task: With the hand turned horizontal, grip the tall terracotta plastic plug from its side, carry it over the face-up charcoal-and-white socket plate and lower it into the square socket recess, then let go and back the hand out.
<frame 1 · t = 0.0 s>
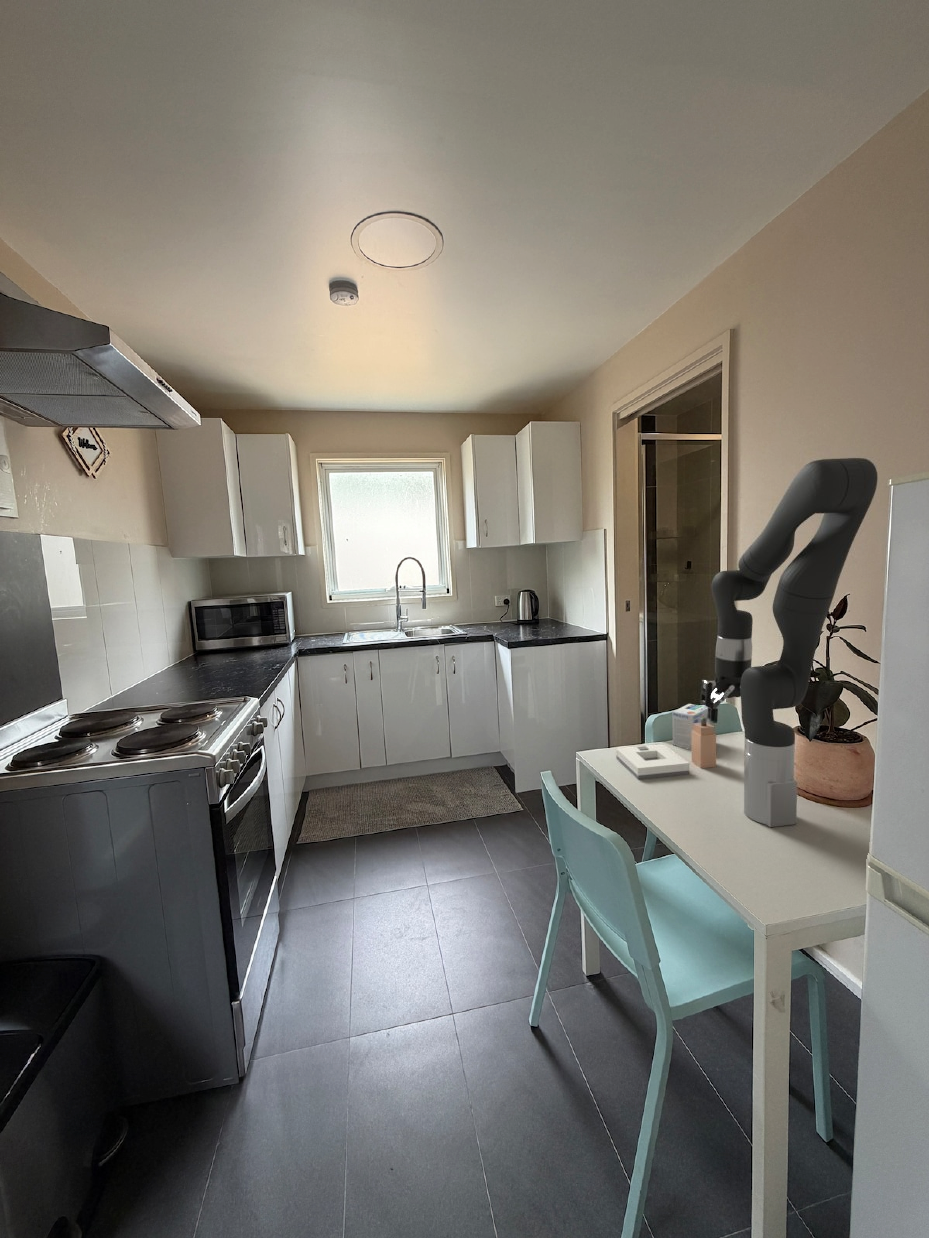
hand: (730, 720, 122), 17 cm above the table, tool pointing down, fingers open, 8 cm apart
plug: (703, 764, 138), on the table
light bulb box: (691, 743, 154), on the table
socket plate: (651, 765, 139), on the table
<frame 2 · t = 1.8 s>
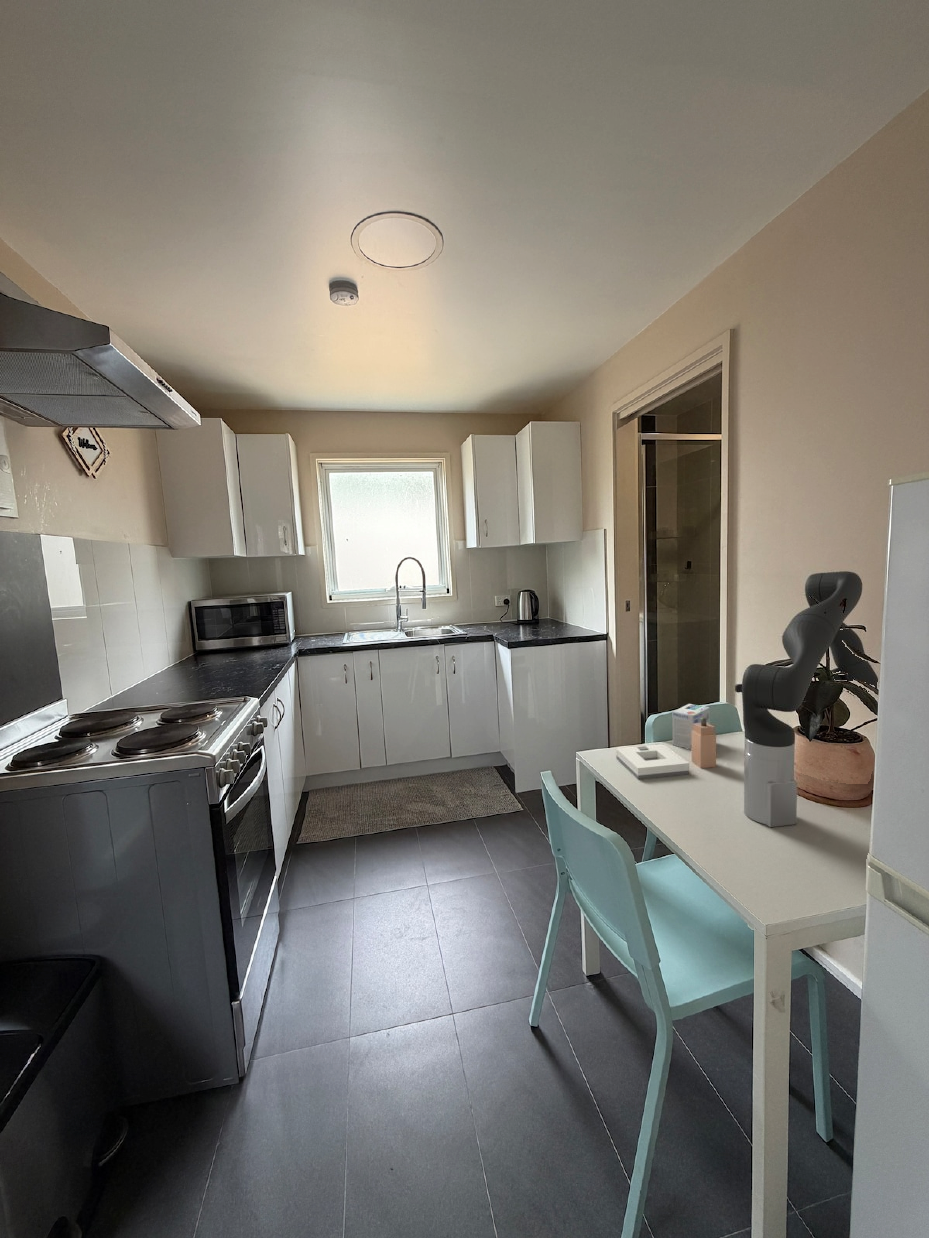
hand: (745, 692, 137), 19 cm above the table, tool horizontal, fingers open, 8 cm apart
nothing on the table moved.
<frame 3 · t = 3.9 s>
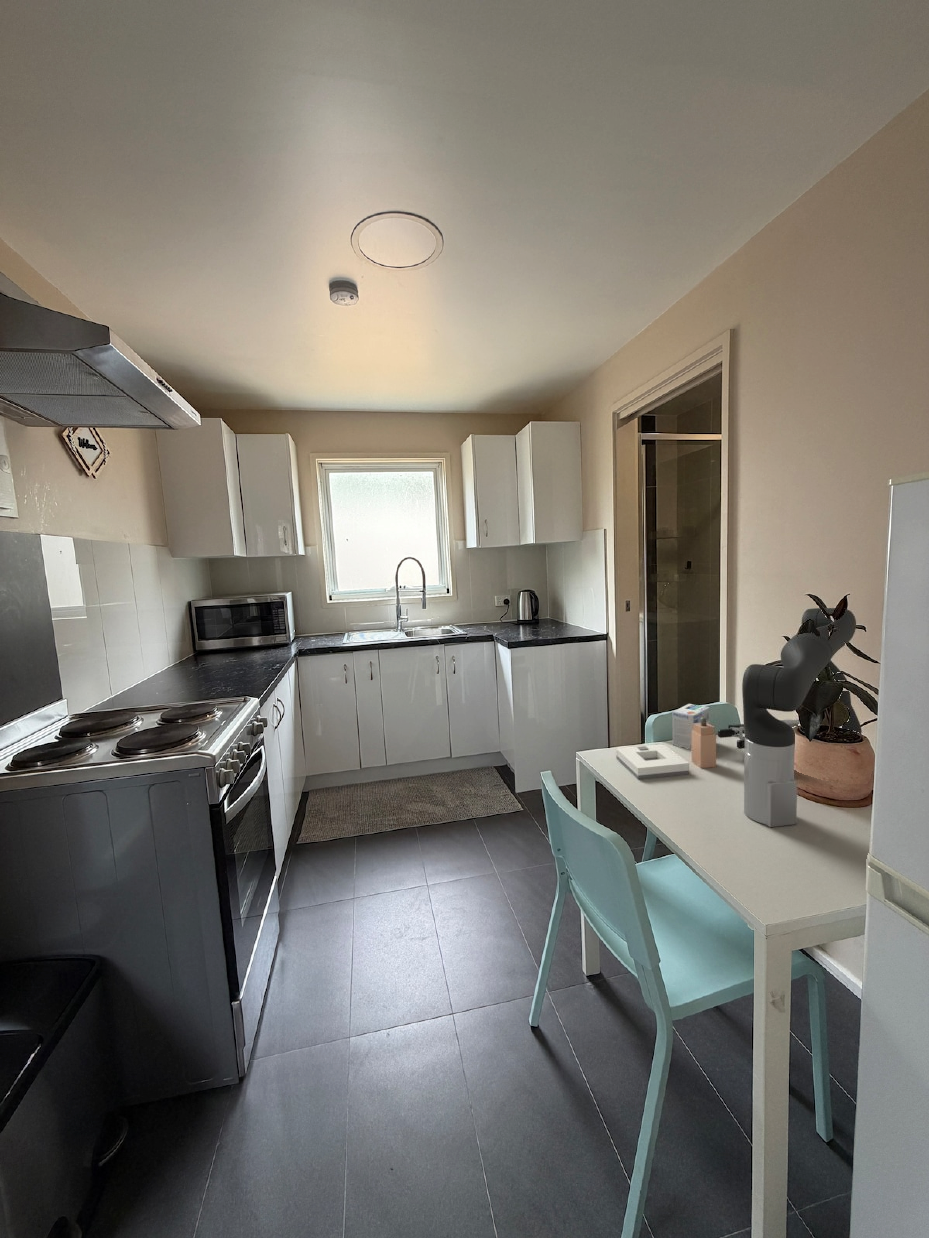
hand: (727, 738, 138), 6 cm above the table, tool horizontal, fingers open, 8 cm apart
nothing on the table moved.
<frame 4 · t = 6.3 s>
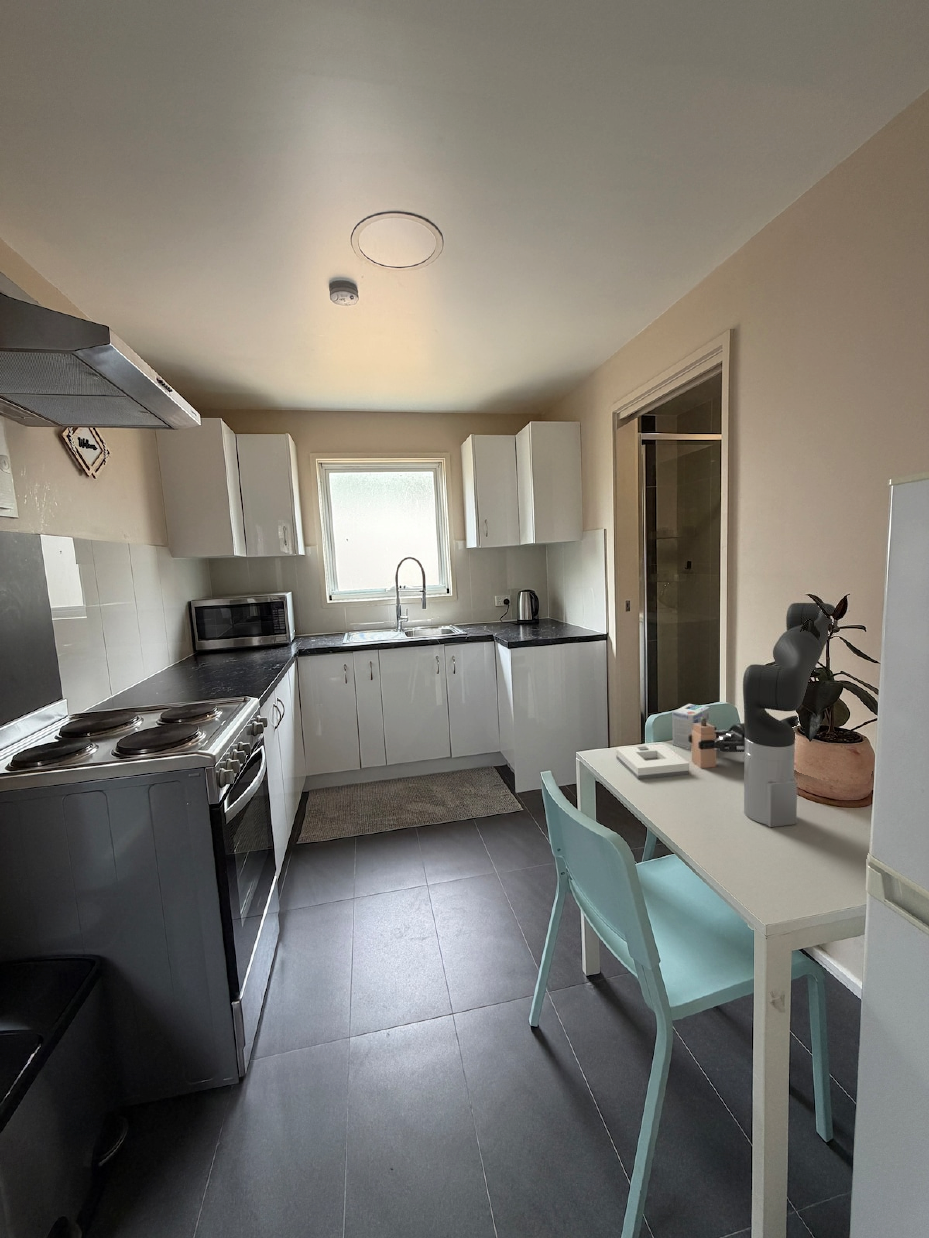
hand: (694, 741, 137), 7 cm above the table, tool horizontal, fingers closed on plug, 4 cm apart
plug: (703, 764, 138), on the table, touching gripper
everything else where it was.
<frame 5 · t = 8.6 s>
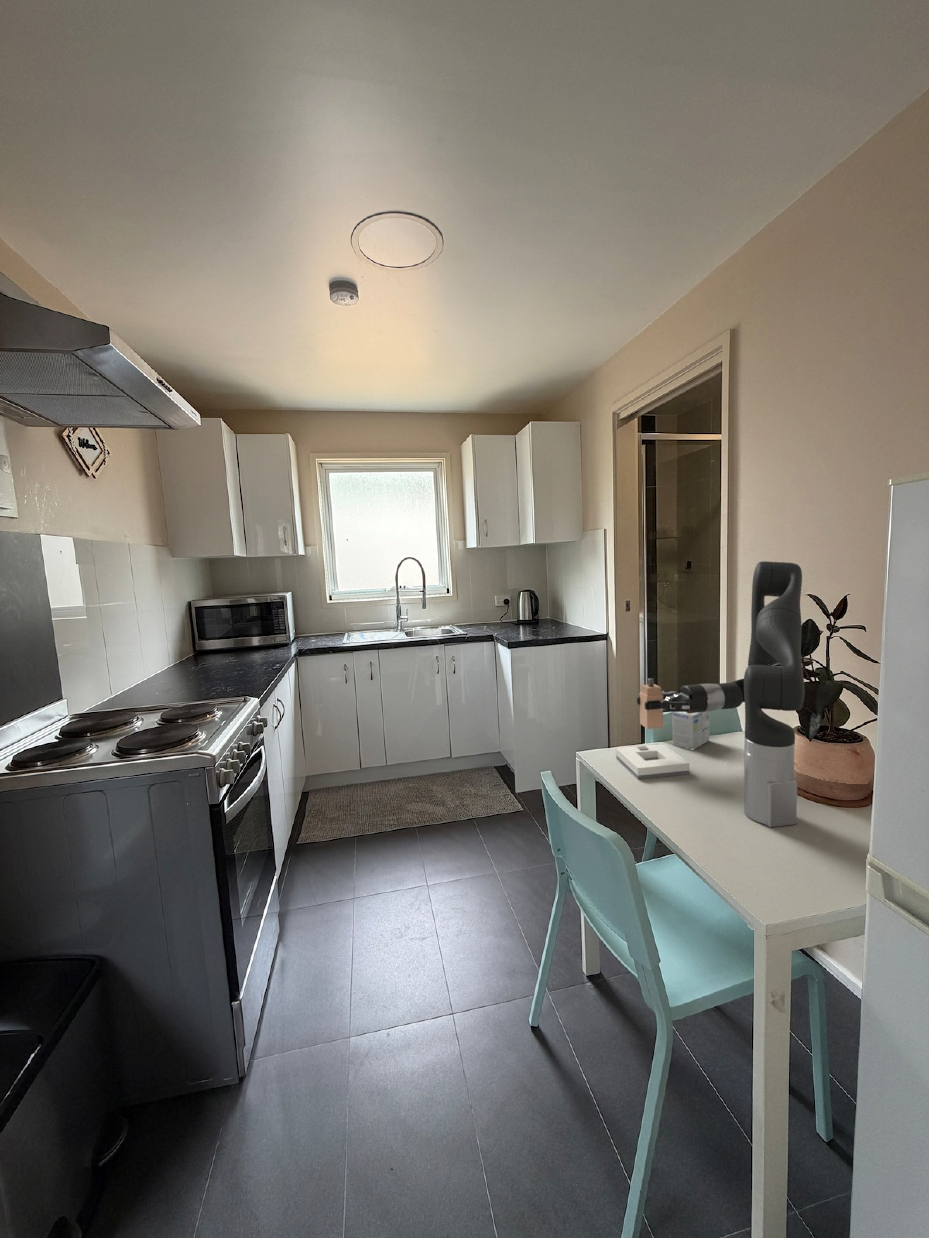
hand: (641, 703, 137), 18 cm above the table, tool horizontal, fingers closed on plug, 4 cm apart
plug: (651, 725, 138), point 11 cm above the table, touching gripper
everything else where it was.
when the fingers open (8 cm above the table, at t = 11.3 s): plug stays where it is, resting on socket plate.
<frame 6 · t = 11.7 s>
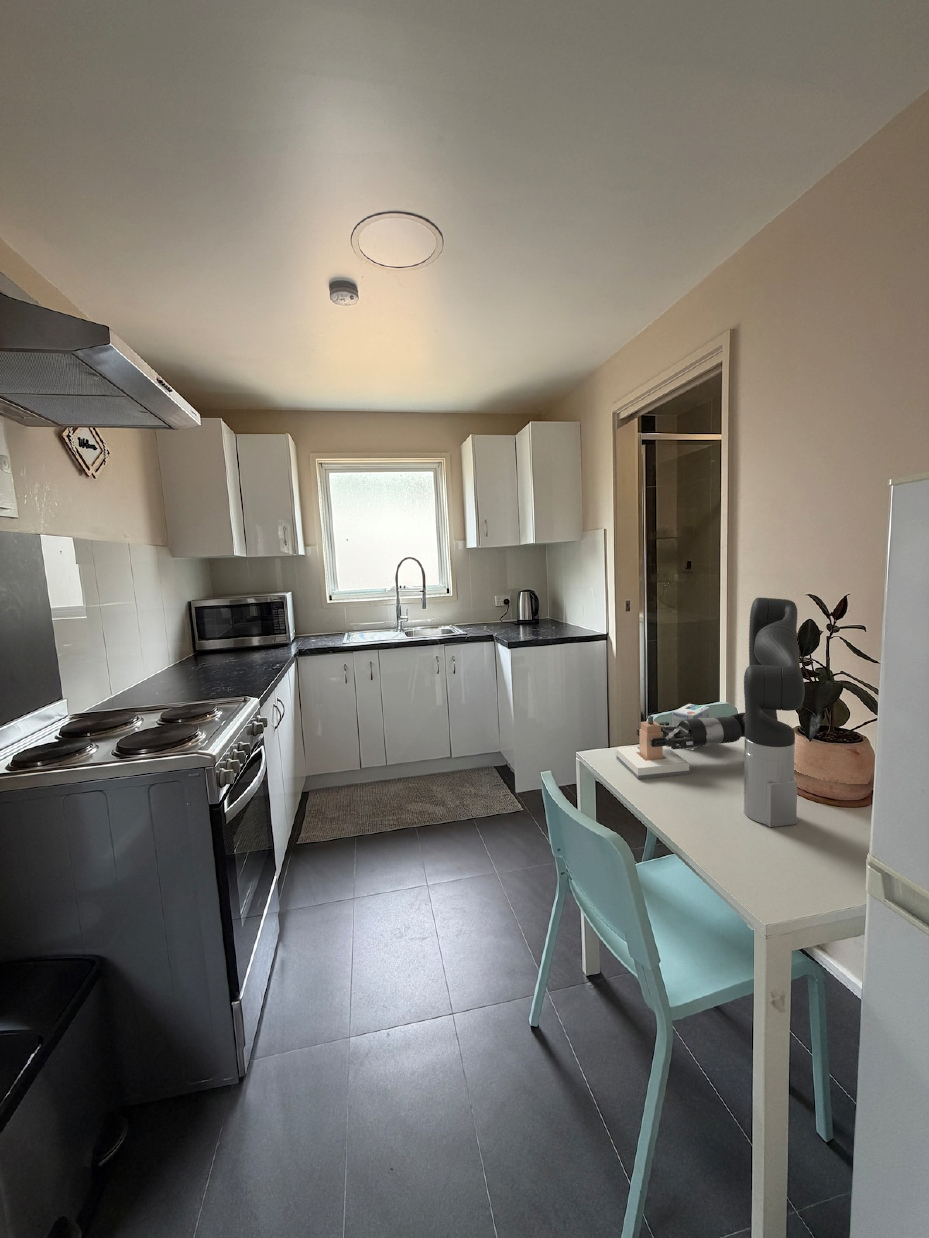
hand: (643, 737, 138), 8 cm above the table, tool horizontal, fingers open, 8 cm apart
plug: (651, 762, 139), point 1 cm above the table, touching socket plate
everything else where it was.
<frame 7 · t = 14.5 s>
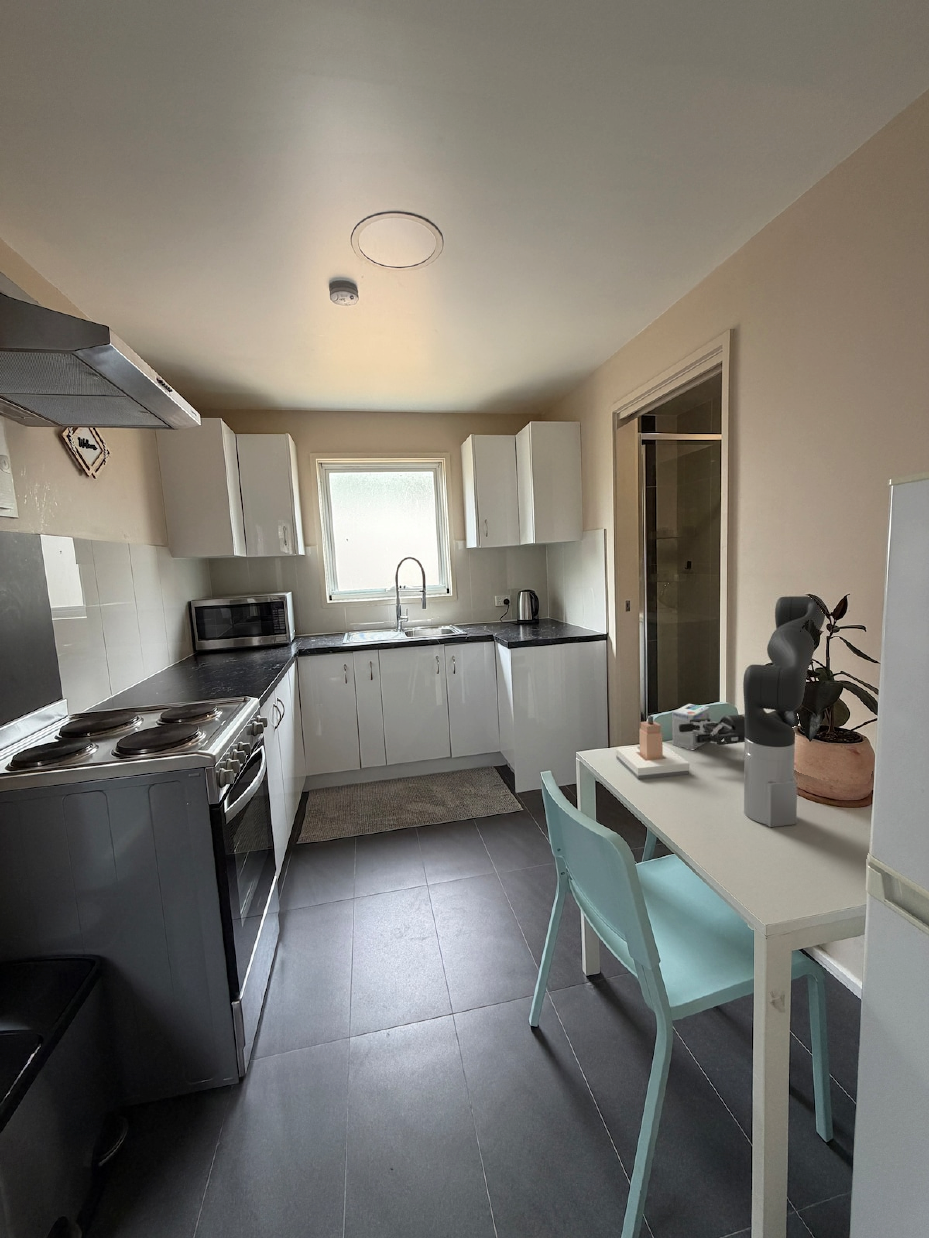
hand: (687, 733, 139), 8 cm above the table, tool horizontal, fingers open, 8 cm apart
nothing on the table moved.
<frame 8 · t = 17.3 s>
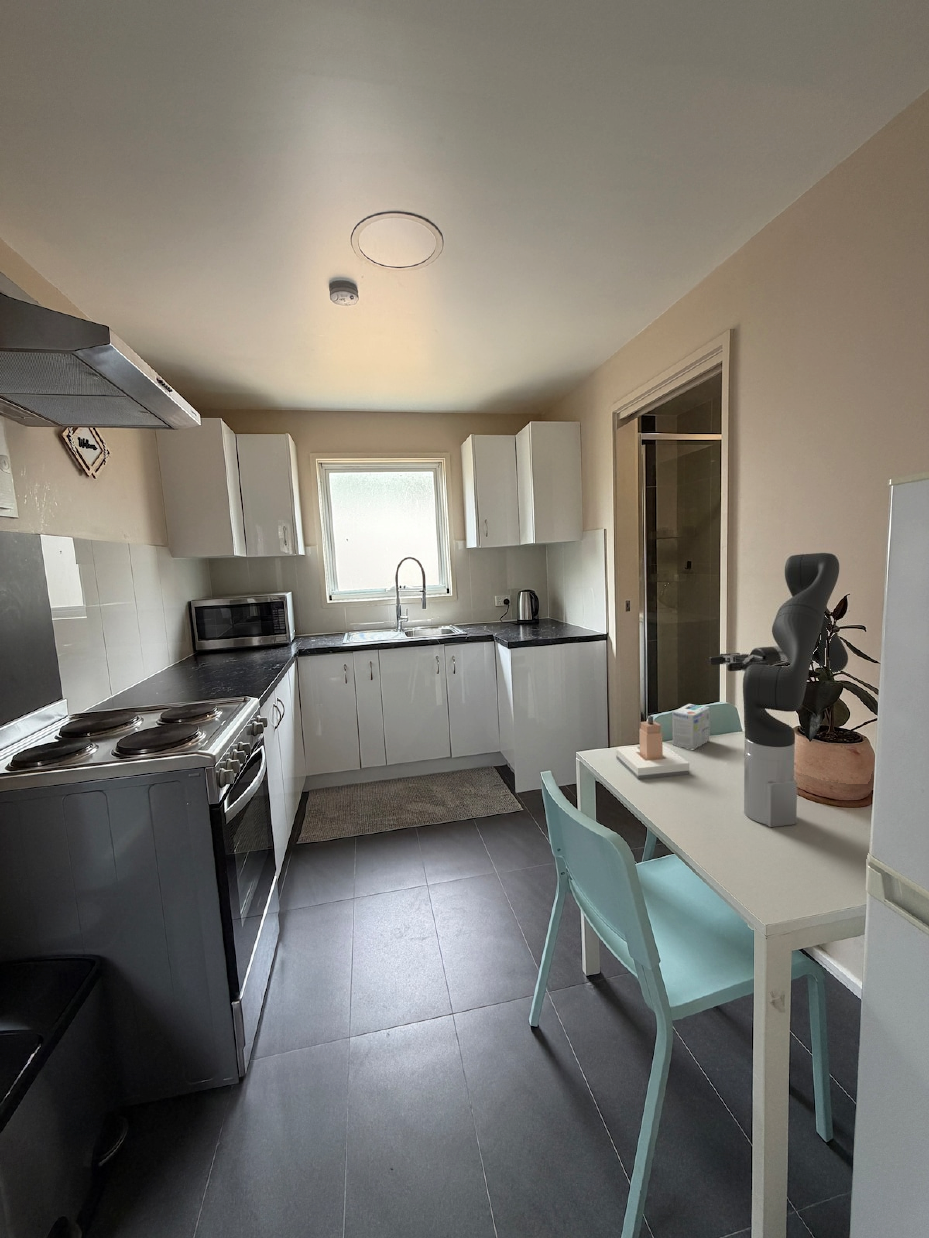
hand: (718, 664, 142), 26 cm above the table, tool horizontal, fingers open, 8 cm apart
nothing on the table moved.
at the end: plug 0.0 cm off-centre on the socket plate, point 1.0 cm above the socket plate's base; plug tilted 0°; the gripper is holding nothing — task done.
